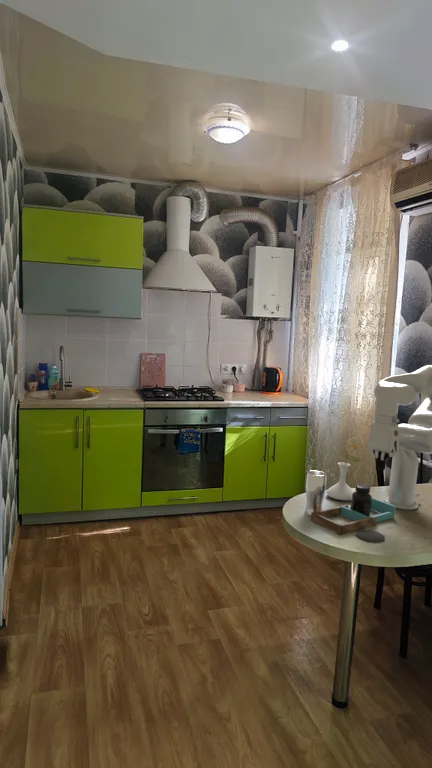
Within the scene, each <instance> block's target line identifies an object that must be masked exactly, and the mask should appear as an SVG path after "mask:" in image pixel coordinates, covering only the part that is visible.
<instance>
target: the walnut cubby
mask: <svg viewBox="0 0 432 768" xmlns="http://www.w3.org/2000/svg"><path fill="white" fill-rule="evenodd" d="M341 506H344V507H346V508H348V507H349V505H348V504H344V505H339V506H334V507H329V508H326V509H325V508H324V509H322V510H321V511H316V512H312V513H311V516H310V522H311V523H314V524H316V525H318V526H320V527H322V528H324V529H326V530H329V531H330V532H333V533H334V534H337V535H339V536H342V535H346V534H350V533H353V532H356V531H358V530H362V529H369V528H371V527H375V526H376V525H377V522H376V517H375V516H374V515H372V516H373V517H369V518H365V519H361V520H357V521H353V520H352V521H350V522H346V523H339V522H336V521H334V520H331V518H332V519H333V518H334V517H335V518H336V517H339V516H341V515H340V514H341Z"/></svg>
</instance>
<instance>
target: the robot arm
mask: <svg viewBox="0 0 432 768" xmlns="http://www.w3.org/2000/svg"><path fill="white" fill-rule="evenodd" d="M374 387H375V388H374V391H373V392H374V397H375V408H374V409H375V411H374V418H373V421H372V424H371V426H370V428H369V429H370V431H369V435H368V443H367V444H368V451H370V452H372V454H373V455H374V458H375V471H380V472H381V471H385V470H386V464H387V461H388V459H389V458H392V459H391V460H392V461H391V467H390V468H391V469H390V470H391V471H390V477H389V489H388V496H385V497H384V498H383V502H385V503H388V504H391V505H394V506H395V509H397V510H398V509H400V510H405V511H406V510H408V511H409V510H410V511H411V510H416V509H418V508H419V504H418V502H417V501H415V500H416V499H417V498H420V497H421V494H420V492H416V489H417V488H416V487H417V479H418V471H419V470H418V469H419V458H418V455H417V454H416V452H419V453H423V454H427V455H432V364H427V365H424V366H422V367H420V368H418V369H416V370H415V371H412V372H408V373H403V374H397V375H391V376H388V377H386V378H383V379H381V380H380V381H379V382H378V383H377V384H376V385H375V386H374ZM417 395H420V404H419V405H418V407H417V408H416V410H415V411H414V412H413V413H412V414H411V415H410V417H409V418H408V421H407V423H400V419H399V418H398V412H399V406H409V405H412V404H413V402H414V401H415V400H416V396H417ZM397 423H400V424H397Z"/></svg>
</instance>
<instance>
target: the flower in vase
mask: <svg viewBox="0 0 432 768" xmlns="http://www.w3.org/2000/svg"><path fill="white" fill-rule="evenodd" d="M345 449H346V452H347V454H348V455H350V456H349V458H348V459H347V458H345V457H342V456H341V455H340V454H339V455H338V457H339V458H340V459H342V460H343V461H345V462H343V461H342V462H337V465H338V468H339V480H338V482H336V484H334V485H332V486H330V487H329V488H328V489H327V490H326V494H327V496H329V497H331V498H332V499H334V500H339V501H351V500H352V494H353V493H354V492H355V491H354V490H353V488H352V487H351V486H349V484H348V483H347V480H346V479H347V472H348V470H349V468H350V467H351V464H350V463H349V462H348V461H350V459H351V461H352V462H354V463H360V462H362V459H361V458H360V457H361V456H363V455H365V452H366V445H365V443H364V440H362V439H361V438H359V437H356V436H353V437H350V438H349V439H347V440H346V442H345ZM359 456H360V457H359Z"/></svg>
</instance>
